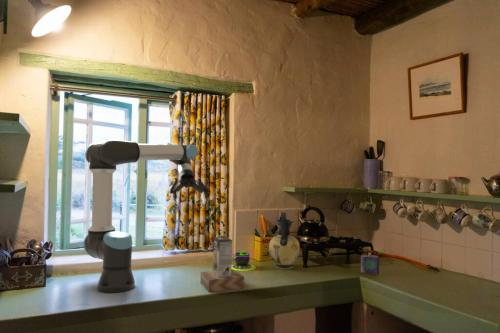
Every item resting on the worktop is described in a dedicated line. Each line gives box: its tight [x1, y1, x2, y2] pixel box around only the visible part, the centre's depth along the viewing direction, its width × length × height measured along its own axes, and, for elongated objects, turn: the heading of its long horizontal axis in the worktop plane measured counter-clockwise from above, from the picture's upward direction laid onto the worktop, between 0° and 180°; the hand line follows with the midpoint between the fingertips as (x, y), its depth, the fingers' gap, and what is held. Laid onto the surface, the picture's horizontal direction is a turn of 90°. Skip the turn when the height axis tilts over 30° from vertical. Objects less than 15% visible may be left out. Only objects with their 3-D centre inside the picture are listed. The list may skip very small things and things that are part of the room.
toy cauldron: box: [231, 247, 256, 272], centre depth 194 cm, size 15×15×11 cm
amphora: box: [268, 211, 301, 270], centre depth 196 cm, size 18×17×30 cm
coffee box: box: [212, 236, 233, 277], centre depth 160 cm, size 9×6×16 cm
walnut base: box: [200, 269, 245, 293], centre depth 159 cm, size 16×14×5 cm
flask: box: [360, 252, 380, 275], centre depth 186 cm, size 9×3×11 cm, turn 79°
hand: (191, 202), depth 180 cm, fingers open, 13 cm apart
